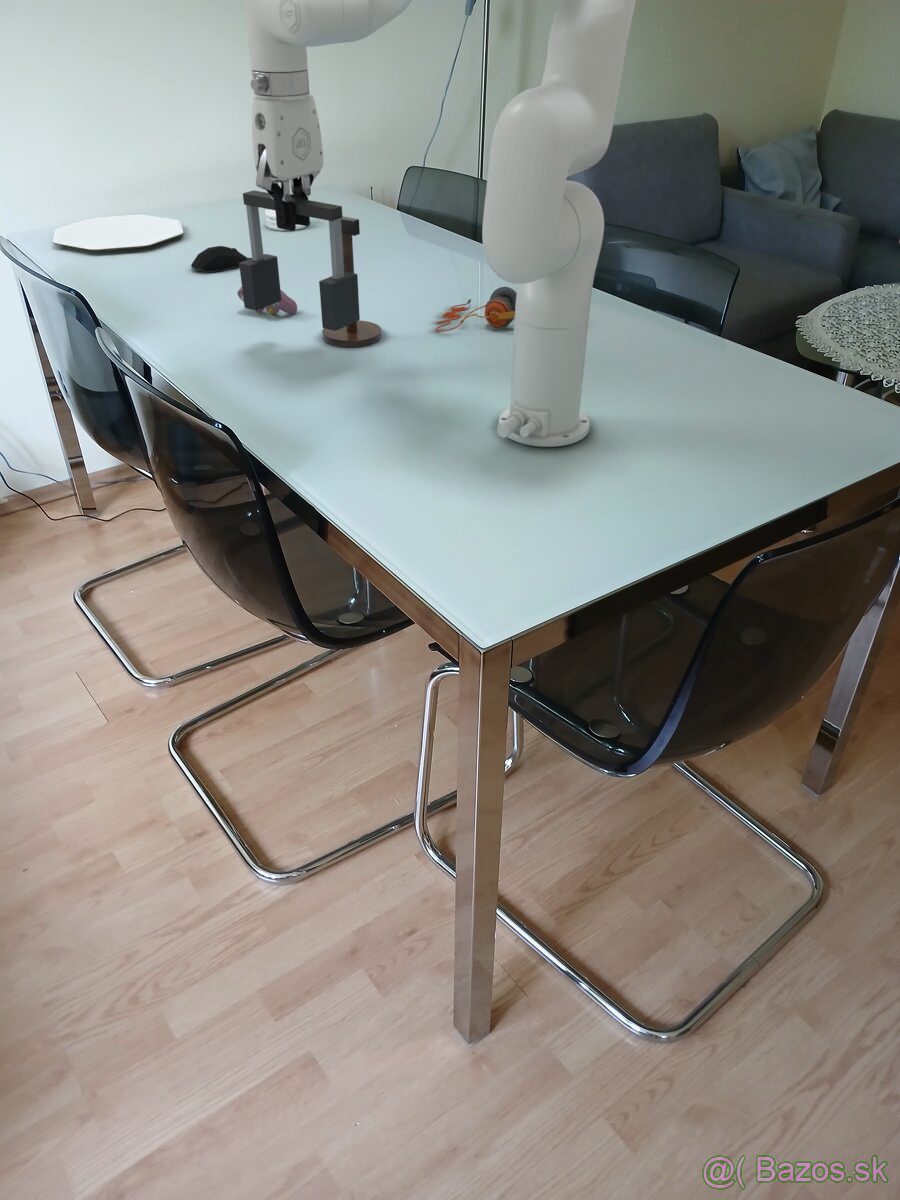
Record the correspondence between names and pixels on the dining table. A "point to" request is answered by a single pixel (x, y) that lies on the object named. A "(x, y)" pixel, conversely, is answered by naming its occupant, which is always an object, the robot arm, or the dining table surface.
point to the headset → (264, 273)
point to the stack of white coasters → (272, 222)
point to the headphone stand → (359, 330)
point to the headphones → (489, 309)
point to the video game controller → (277, 304)
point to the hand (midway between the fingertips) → (293, 225)
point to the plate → (117, 232)
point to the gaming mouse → (218, 259)
